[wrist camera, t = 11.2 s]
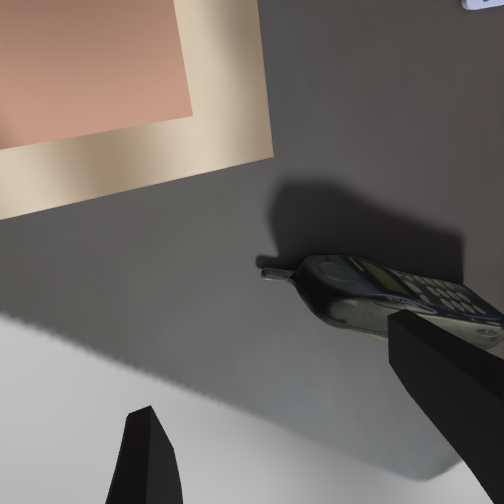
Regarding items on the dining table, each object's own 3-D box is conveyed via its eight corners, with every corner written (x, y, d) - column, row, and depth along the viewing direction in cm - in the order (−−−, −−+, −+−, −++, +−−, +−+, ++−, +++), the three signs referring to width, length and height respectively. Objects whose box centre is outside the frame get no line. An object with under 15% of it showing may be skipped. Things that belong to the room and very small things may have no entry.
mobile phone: (528, 321, 24) (315, 288, 18) (499, 361, 26) (288, 343, 19) (465, 276, 28) (273, 235, 22) (442, 312, 30) (253, 283, 23)
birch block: (204, -232, 13) (226, -287, 11) (252, 138, 20) (273, 156, 17) (-230, -208, 11) (-325, -270, 9) (-20, 197, 18) (-41, 229, 15)
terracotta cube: (134, -96, 12) (147, -149, 8) (169, 85, 15) (193, 116, 11) (-55, -82, 11) (-148, -134, 7) (19, 109, 14) (-19, 152, 10)
